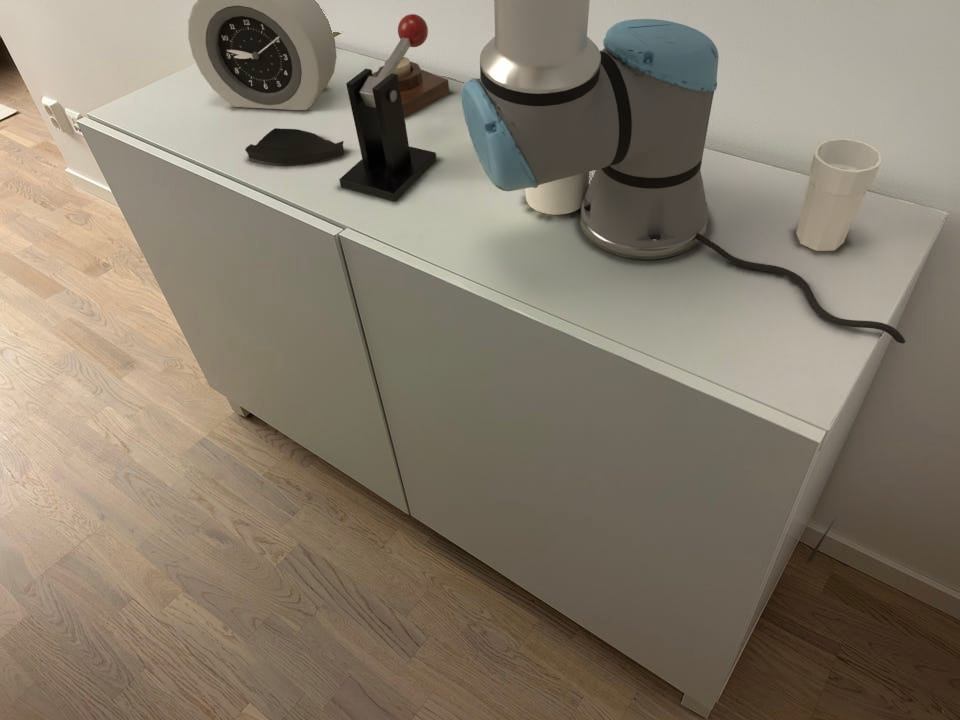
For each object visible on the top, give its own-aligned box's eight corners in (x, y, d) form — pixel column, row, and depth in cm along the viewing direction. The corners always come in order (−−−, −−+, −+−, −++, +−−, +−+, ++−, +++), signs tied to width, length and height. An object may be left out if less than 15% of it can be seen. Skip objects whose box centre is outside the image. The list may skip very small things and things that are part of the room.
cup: (794, 216, 88) (819, 134, 80) (853, 227, 85) (884, 144, 77) (785, 248, 84) (810, 165, 76) (846, 260, 81) (878, 176, 73)
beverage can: (561, 226, 90) (562, 139, 81) (513, 203, 94) (509, 118, 85) (600, 196, 93) (606, 110, 84) (552, 175, 97) (553, 91, 89)
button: (416, 71, 114) (414, 60, 113) (397, 81, 112) (396, 70, 111) (399, 65, 116) (397, 54, 115) (381, 74, 114) (379, 63, 113)
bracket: (384, 148, 106) (367, 55, 95) (436, 160, 102) (424, 65, 92) (340, 187, 99) (317, 92, 89) (395, 201, 96) (377, 104, 86)
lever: (411, 30, 98) (402, 5, 95) (436, 34, 97) (428, 9, 93) (362, 109, 94) (350, 85, 90) (387, 114, 93) (376, 91, 89)
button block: (449, 92, 116) (447, 68, 113) (404, 117, 111) (400, 93, 108) (400, 73, 122) (396, 49, 119) (355, 96, 117) (350, 72, 114)
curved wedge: (324, 174, 102) (321, 164, 101) (245, 160, 106) (242, 150, 105) (352, 144, 107) (350, 134, 106) (276, 132, 111) (273, 122, 110)
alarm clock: (210, 105, 118) (163, -23, 104) (230, 84, 123) (188, -42, 109) (329, 111, 114) (298, -22, 100) (346, 89, 119) (318, -41, 104)
